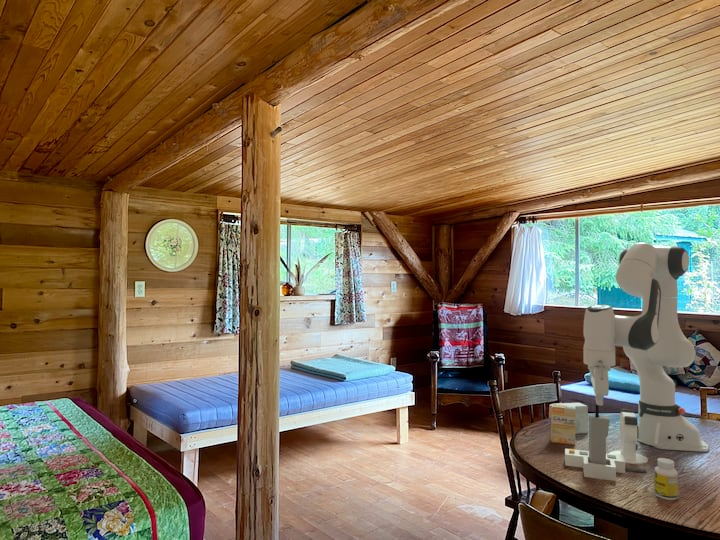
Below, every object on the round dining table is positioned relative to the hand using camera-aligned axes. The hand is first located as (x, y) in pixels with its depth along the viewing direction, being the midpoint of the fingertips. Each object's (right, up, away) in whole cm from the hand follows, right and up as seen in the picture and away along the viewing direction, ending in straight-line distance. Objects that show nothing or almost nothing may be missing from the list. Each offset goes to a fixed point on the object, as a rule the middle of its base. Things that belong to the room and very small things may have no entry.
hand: (599, 404), depth 155 cm
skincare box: (+9, -22, +42) cm, 49 cm away
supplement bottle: (+11, -22, -15) cm, 29 cm away
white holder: (+16, -22, +14) cm, 30 cm away
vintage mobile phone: (0, -21, 0) cm, 21 cm away
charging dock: (+3, -21, +2) cm, 22 cm away
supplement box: (+1, -22, +29) cm, 37 cm away
